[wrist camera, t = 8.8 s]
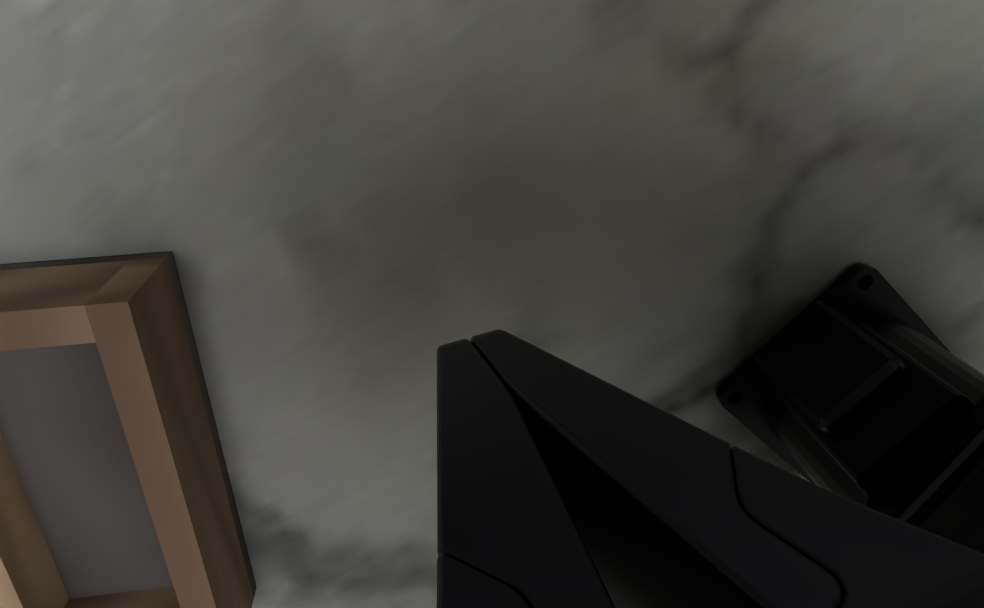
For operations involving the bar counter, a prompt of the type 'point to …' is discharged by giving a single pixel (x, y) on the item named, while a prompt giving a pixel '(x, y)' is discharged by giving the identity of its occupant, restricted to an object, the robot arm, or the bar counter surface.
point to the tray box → (110, 444)
